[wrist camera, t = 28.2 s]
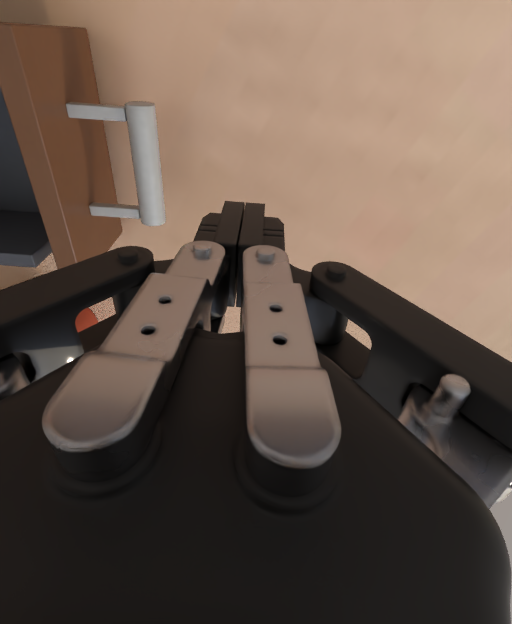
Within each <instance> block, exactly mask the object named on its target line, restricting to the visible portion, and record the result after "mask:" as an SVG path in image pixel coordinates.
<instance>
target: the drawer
mask: <svg viewBox="0 0 512 624" xmlns="http://www.w3.org/2000/svg"><path fill="white" fill-rule="evenodd" d="M103 120H109V121H122V122H126V121H127V124H128V131H129V138H130V146H131V153H132V160H133V167H134V174H135V181H136V188H137V195H138V203H139V206H136V205H123V204H118V203H117V198H116V192H115V186H114V181H113V175H112V169H111V164H110V158H109V152H108V147H107V141H106V135H105V130H104V124H103ZM140 217H141V222H142V224H144V225H147V226H159V225H162V224H164V223H165V222H166V215H165V204H164V194H163V183H162V173H161V162H160V152H159V141H158V131H157V120H156V110H155V104H153V103H151V102H143V101H132V102H126V103H125V106H118V105H105V104H100V102H99V96H98V90H97V85H96V79H95V73H94V68H93V62H92V56H91V51H90V45H89V39H88V34H87V29H86V28H80V27H67V26H51V25H35V24H19V23H3V22H0V265H8V266H22V267H37V266H38V265H39V264H40V263H41V262H42V261H43V260H44V259H45V258H46V257H47V256H48V255H49V254H50V253H51V252H53V255H54V258H55V262H56V265H57V268H58V269H61V268H64V267H66V266H69V265H72V264H75V263H78V262H80V261H83V260H86V259H89V258H91V257H94V256H97V255H100V254H103V253H105V252H107V251H108V250H109V248H110V247H111V246H112V245H113V243H114V242H115V241H116V240H117V238H118V237H119V236H120V234H121V233H122V226H121V220H120V218H134V219H140Z"/></svg>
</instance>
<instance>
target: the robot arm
mask: <svg viewBox="0 0 512 624" xmlns="http://www.w3.org/2000/svg"><path fill="white" fill-rule="evenodd" d="M244 207H245V211H244ZM264 211H265V204H259V203H246V205H245V204H244V202H232V201H225V203H224V206H223V210H222V213H221V214H220V213H209V214H208V215H206V216H205V217H203V219H202V221H201V223H200V226H199V228H198V231H197V233H196V236H195V238H194V241H193V242H190V243H187V244H185V245H183V246H182V247H181V248H180V250H179V252H178V253H177V255H176V256H175V258H174V259H171V260H163V261H154V259H153V254H152V252H151V251H150V250H148V249H146V248H143V247H138V246H126V247H120V248H117V249H114V250H111V251H108V252H105V253H103V254H100V255H97V256H94V257H91V258H89V259H86V260H83V261H80V262H78V263H75V264H72V265H69V266H66V267H64V268H61V269H58V270H55V271H53V272H50V273H47V274H44V275H41V276H39V277H36V278H33V279H30V280H27V281H25V282H22V283H19V284H16V285H14V286H11V287H8V288H5V289H2V290H0V624H511V620H510V619H511V618H510V595H511V567H510V559H509V554H508V551H507V547H506V543H505V540H504V538H503V535H502V533H501V530H500V528H499V526H498V524H497V522H496V520H495V519H494V517H493V515H492V513H491V511H490V510H489V509H490V508H491V506H492V505H493V504H495V503H499V502H501V501H502V500H504V499H505V498H506V497H507V496H508V495H509V494H510V493H511V492H512V362H510V361H508V360H507V359H505V358H503V357H501V356H500V355H498V354H496V353H495V352H493V351H491V350H490V349H488V348H486V347H485V346H483V345H481V344H480V343H478V342H476V341H475V340H473V339H471V338H470V337H468V336H466V335H465V334H463V333H461V332H460V331H458V330H456V329H455V328H453V327H451V326H449V325H448V324H446V323H444V322H443V321H441V320H439V319H438V318H436V317H434V316H433V315H431V314H429V313H428V312H426V311H424V310H423V309H421V308H419V307H418V306H416V305H414V304H413V303H411V302H409V301H408V300H406V299H404V298H403V297H401V296H399V295H398V294H396V293H394V292H392V291H391V290H389V289H387V288H386V287H384V286H382V285H381V284H379V283H377V282H376V281H374V280H372V279H371V278H369V277H367V276H366V275H364V274H362V273H361V272H359V271H357V270H356V269H354V268H352V267H350V266H348V265H346V264H343V263H339V262H330V261H329V262H321V263H318V264H316V265H315V266H314V267H313V268H312V272H308V271H304V270H301V269H298V268H296V267H294V266H292V265H291V264H290V263H289V259H288V255H287V254H286V252H285V243H284V224H283V223H282V222H281V221H280V220H279V219H278V218H274V217H264ZM236 292H237V300H236V307H241V313H240V332H235V333H225V334H221V332H222V329H223V325H224V317H225V312H226V309H227V306H230V307H234V305H235V299H236ZM110 297H112V298H113V302H114V307H115V311H116V314H115V315H113V316H111V317H109V318H107V319H105V320H103V321H101V322H99V323H97V324H94V325H92V326H90V327H88V328H86V329H84V330H82V331H80V332H78V331H77V328H76V325H75V321H76V317H77V316H78V314H79V313H80V312H81V311H82V310H84V309H86V308H88V307H90V306H92V305H94V304H97V303H99V302H101V301H103V300H106V299H108V298H110ZM348 319H350V320H351V321H352V322H354V323H355V324H356V325H358V326H359V327H361V328H362V329H363V330H365V331H366V332H367V333H368V335H369V336H370V339H371V342H372V347H371V350H370V349H368V348H367V347H366V346H364V345H363V344H362V343H360V342H359V341H358V340H356V339H355V338H354V337H352V336H351V335H350V334H348V333H347V332H346V331H345V330H346V326H347V322H348Z"/></svg>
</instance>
